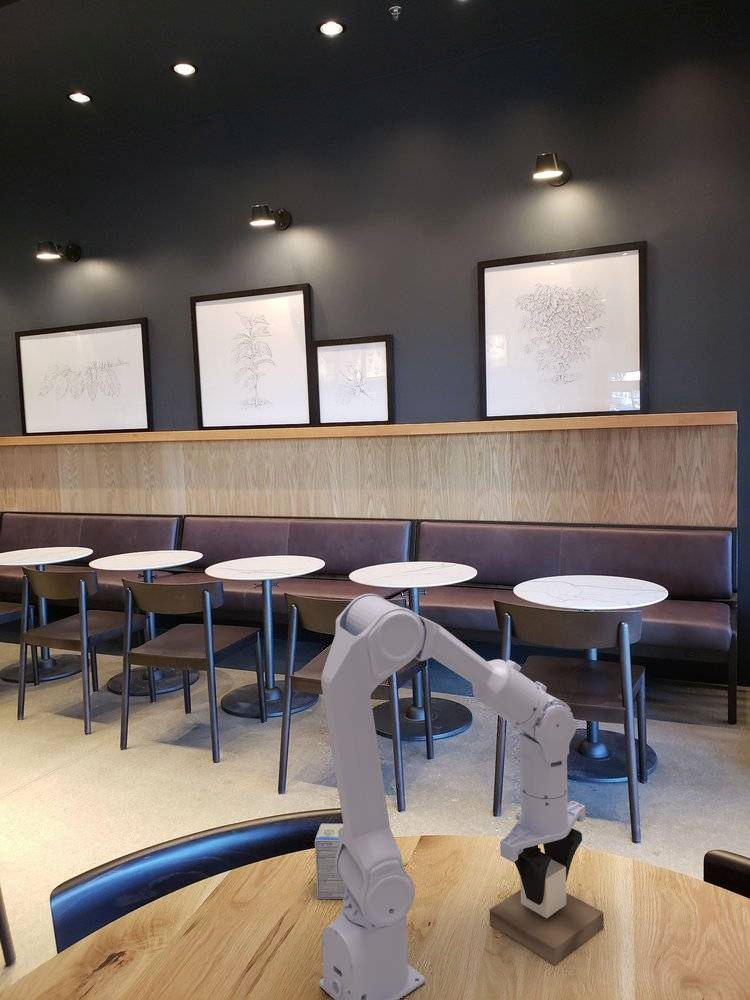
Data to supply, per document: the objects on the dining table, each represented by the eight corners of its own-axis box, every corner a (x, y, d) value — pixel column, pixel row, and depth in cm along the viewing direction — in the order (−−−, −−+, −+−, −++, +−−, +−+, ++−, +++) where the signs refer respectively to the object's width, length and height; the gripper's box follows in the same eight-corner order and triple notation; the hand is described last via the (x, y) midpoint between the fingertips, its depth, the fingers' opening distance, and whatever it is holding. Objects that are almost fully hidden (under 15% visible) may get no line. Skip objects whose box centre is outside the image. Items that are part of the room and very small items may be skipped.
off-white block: (546, 918, 90) (545, 879, 90) (520, 903, 93) (520, 865, 93) (566, 904, 93) (565, 866, 92) (540, 890, 96) (540, 853, 95)
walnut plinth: (554, 965, 86) (554, 949, 86) (489, 924, 94) (489, 909, 93) (603, 927, 92) (603, 912, 92) (539, 892, 100) (538, 878, 100)
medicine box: (377, 882, 104) (375, 823, 103) (374, 902, 99) (372, 840, 98) (322, 881, 104) (319, 822, 104) (316, 900, 100) (314, 839, 99)
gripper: (553, 761, 99) (554, 857, 100) (480, 796, 90) (482, 902, 91) (598, 778, 94) (599, 880, 95) (526, 817, 85) (528, 930, 86)
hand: (545, 892), depth 93 cm, fingers closed on off-white block, 4 cm apart
